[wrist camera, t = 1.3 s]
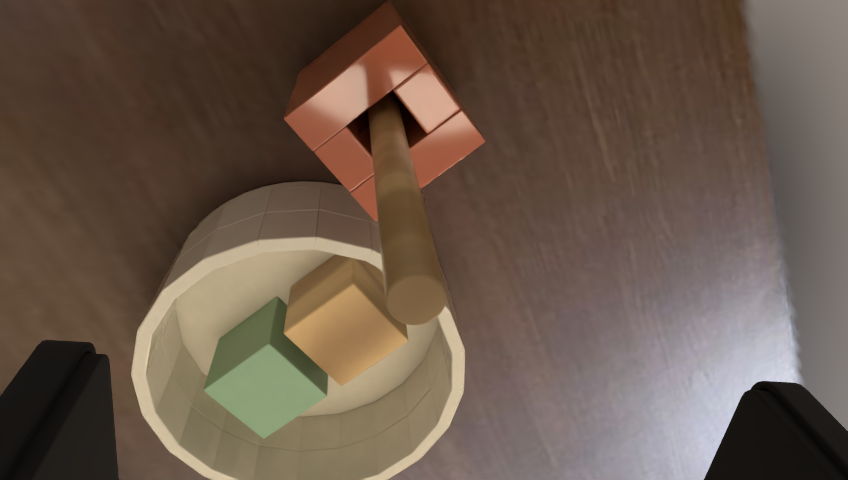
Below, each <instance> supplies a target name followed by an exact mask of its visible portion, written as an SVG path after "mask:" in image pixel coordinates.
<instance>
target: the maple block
mask: <svg viewBox="0 0 848 480" xmlns="http://www.w3.org/2000/svg"><path fill="white" fill-rule="evenodd" d="M283 333H284V334H285V335H286V336H287V337H288V338H289V339H290V340H291V341H292V342H293V343H294V344H295V345H297V346H298V347H299V348H300V349H301V350H302V351H303V352H304V353H305V354H306V355H307V356H309V357H310V358H311V359H312V360H313V361H314V362H315V363H316V364H317V365H318V366H319V367H320V368H322V369H323V370H324V371H325V372H326V373H327V374H328V375H329V376H330V377H331V378H332V379H334V380H335V381H336V382H337V383H338V384H339V385H340V386H343V385H344V384H346V383H347V382H349V381H350V380H352V379H353V378H355V377H356V376H358V375H359V374H361V373H362V372H364V371H365V370H366V369H368V368H369V367H371V366H372V365H374V364H375V363H377V362H378V361H380V360H381V359H383V358H384V357H386V356H387V355H389V354H390V353H392V352H393V351H395V350H396V349H398V348H399V347H401V346H402V345H404V344H405V343H407V342H408V333H407V326H406V324H404V323H401V322H399V321H397V320H396V319H395V318H394V317H392V316H391V314H390V313H389V312H388V310H387V307H386V303H385V292H384V281H383V274H382V273H381V272H380V270H379V269H378V268H377V267H376V266H374V265H372V264H370V263H368V262H367V261H363V260H359V259H354V258H350V257H345V256H341V255H336V254H335V255H334V256H332V257H331V258H330V259H328V260H327V261H326V262H324V263H323V264H322V265H320V266H319V267H317V268H316V269H315V270H313V271H312V272H311V273H309V274H308V275H306V276H305V277H304V278H302V279H301V280H300V281H298V282H297V283H295V284H294V285H293V286H291V288H290V294H289V301H288V307H287V313H286V319H285V326H284V332H283Z"/></svg>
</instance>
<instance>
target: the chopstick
mask: <svg viewBox="0 0 848 480" xmlns="http://www.w3.org/2000/svg"><path fill="white" fill-rule="evenodd" d="M368 117H369V128H370V138H371V149H372V160H373V171H374V182H375V193H376V204H377V215H378V226H379V237H380V248H381V259H382V270H383V281H384V292H385V303H386V307H387V310H388V312H389V313H390V314H391V316H392V317H394V318H395V319H396V320H397V321H399V322H401V323H404V324H407V325H422V324H425V323H428V322H430V321H432V320H434V319H435V318H436V317H438V316H439V315H440V313H441V312H442V310H443V309H444V307H445V304H446V299H447V294H446V290H445V286H444V282H443V278H442V274H441V270H440V266H439V262H438V258H437V254H436V250H435V246H434V242H433V239H432V235H431V231H430V227H429V223H428V219H427V215H426V211H425V207H424V203H423V199H422V195H421V191H420V187H419V183H418V180H417V176H416V172H415V168H414V164H413V160H412V156H411V152H410V148H409V144H408V140H407V136H406V132H405V128H404V125H403V121H402V117H401V113H400V109H399V105H398V101H397V97H396V94H395V93H394V91H393V90H392V91H390V92H389V93H388V94H386V95H385V96H384V97H383V98H381V99H380V100H379V101H377V102H376V103H375V104H373V105H372V106H371V107H370V108H368Z"/></svg>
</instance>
